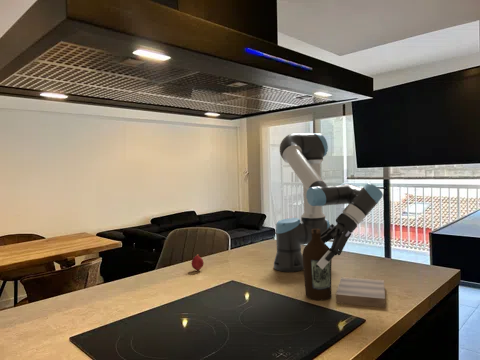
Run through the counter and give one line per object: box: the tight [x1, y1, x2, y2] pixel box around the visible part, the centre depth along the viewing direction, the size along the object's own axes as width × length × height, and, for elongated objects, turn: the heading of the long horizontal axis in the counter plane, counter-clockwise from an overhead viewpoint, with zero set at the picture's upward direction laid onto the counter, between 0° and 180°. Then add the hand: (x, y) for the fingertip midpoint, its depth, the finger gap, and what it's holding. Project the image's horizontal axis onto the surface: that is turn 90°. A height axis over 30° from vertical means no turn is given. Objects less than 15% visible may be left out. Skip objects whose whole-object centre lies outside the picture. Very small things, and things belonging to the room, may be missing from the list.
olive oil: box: [302, 229, 333, 301], centre depth 130 cm, size 11×11×25 cm
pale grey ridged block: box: [335, 276, 386, 308], centre depth 129 cm, size 20×16×3 cm
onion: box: [191, 254, 205, 272], centre depth 170 cm, size 6×6×8 cm
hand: (312, 261), depth 129 cm, fingers open, 13 cm apart
